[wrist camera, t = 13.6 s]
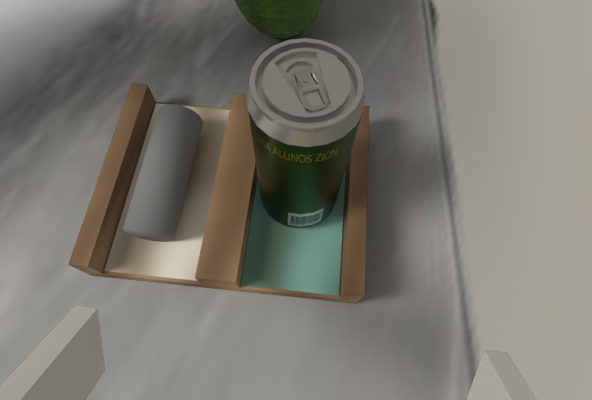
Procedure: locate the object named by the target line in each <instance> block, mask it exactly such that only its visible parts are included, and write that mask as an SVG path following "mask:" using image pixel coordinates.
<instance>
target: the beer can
mask: <svg viewBox="0 0 592 400" xmlns="http://www.w3.org/2000/svg"><path fill="white" fill-rule="evenodd" d="M363 85H364V80H363V77H362V73H361V70H360V67H359V66H358V65H357V63H356V62H355V61H354V59H353V58H352V57H351V55H349V54H348V53H347V52H345V51H344V50H342V49H341V48H340V47H338V46H336V45H333V44H331V43H328V42H325V41H323V40H316V39H309V38H302V39H292V40H287V41H284V42H282V43H279V44H276V45H274V46H272V47H271V48H269V49H268V50H267V51H265V52H264V53H263V54H261V55H260V57H259V58H258V59H257V61H256V62H255V64H254V65H253V67H252V71H251V75H250V79H249V85H248V89H247V94H246V100H247V107H248V113H249V120H250V127H251V134H252V141H253V147H254V154H255V161H256V168H257V175H258V181H259V188H260V195H261V202H262V205H263V206H264V208H265V210H266V212H267V214H268V215H270V216H271V217H272V218H273V219H274V220H275V221H276V222H278V223H280V224H282V225H285V226H287V227H293V228H305V227H311V226H314V225H316V224H318V223H320V222H322V221H323V220H324V219H325V218H326V217H327V216H328V215H329V214H330V213H331V211H332V209H333V207H334V205H335V203H336V200H337V197H338V193H339V190H340V187H341V184H342V180H343V177H344V174H345V170H346V167H347V164H348V160H349V157H350V154H351V151H352V147H353V144H354V141H355V137H356V134H357V131H358V128H359V124H360V121H361V118H362V114H363V110H364V99H365V96H364V92H363Z"/></svg>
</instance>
